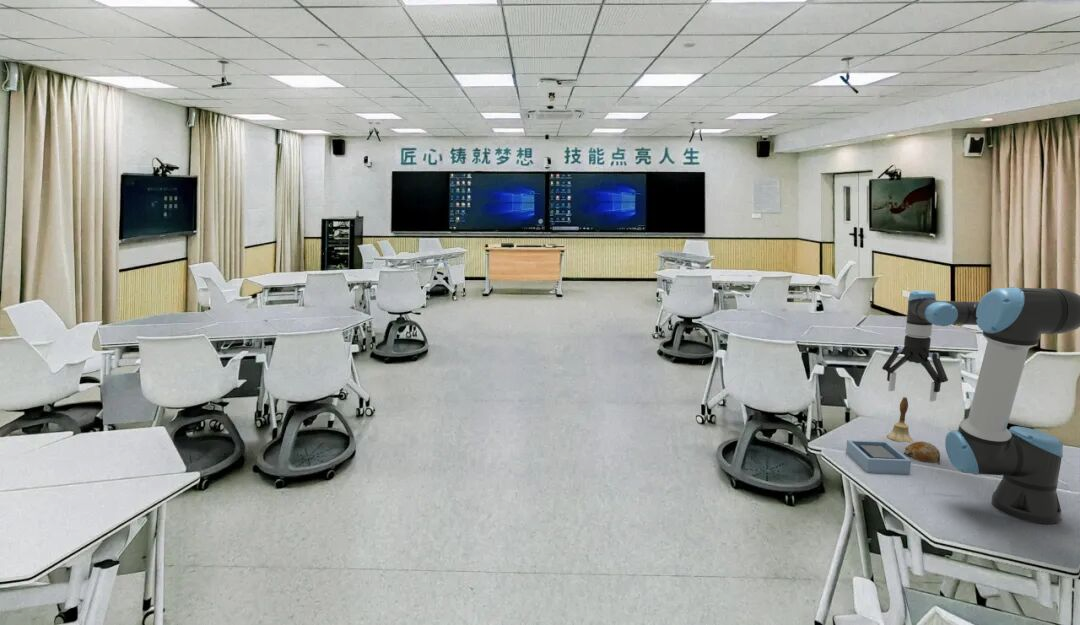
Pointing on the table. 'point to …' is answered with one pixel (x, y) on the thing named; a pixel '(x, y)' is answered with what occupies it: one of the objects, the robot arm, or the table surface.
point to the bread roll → (923, 452)
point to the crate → (877, 464)
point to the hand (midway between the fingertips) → (911, 395)
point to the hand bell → (901, 425)
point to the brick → (876, 452)
